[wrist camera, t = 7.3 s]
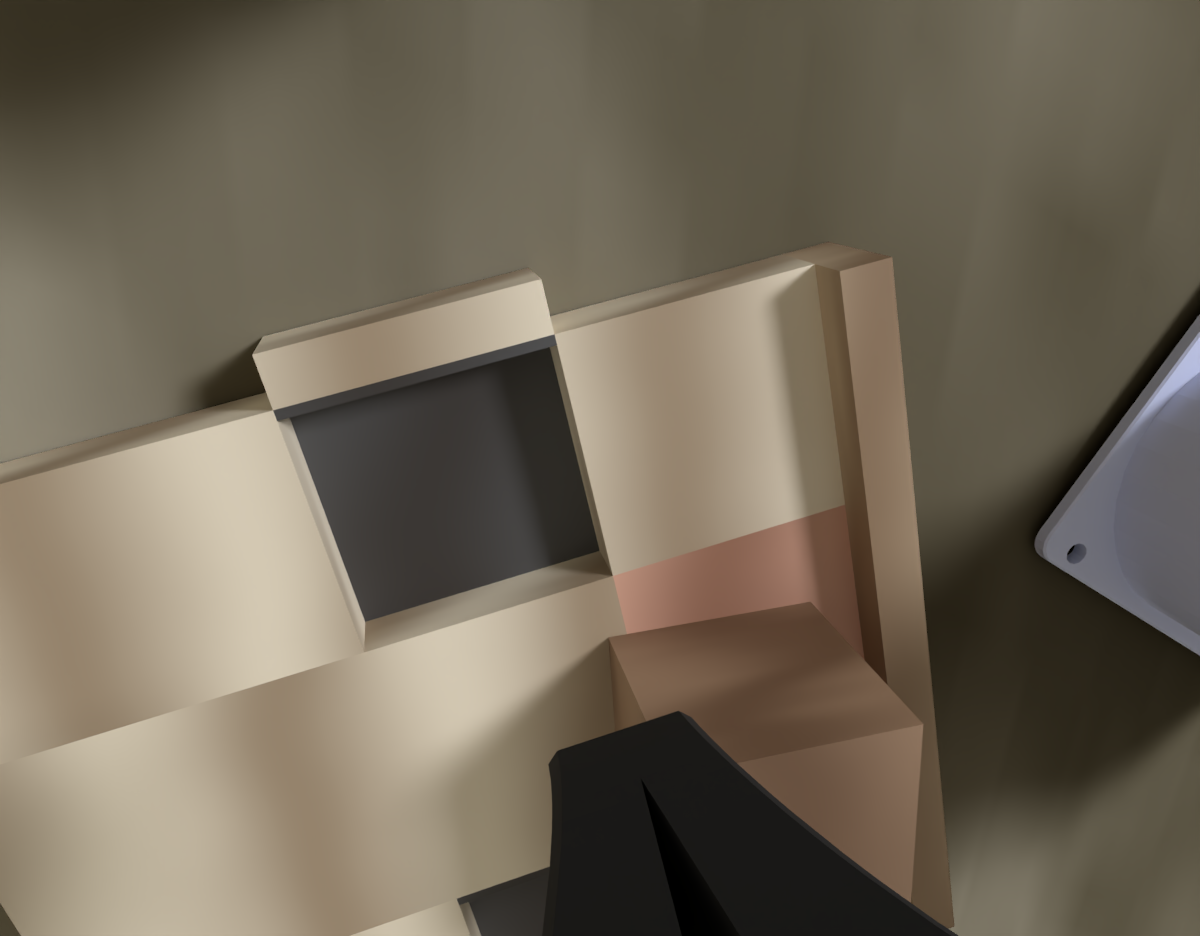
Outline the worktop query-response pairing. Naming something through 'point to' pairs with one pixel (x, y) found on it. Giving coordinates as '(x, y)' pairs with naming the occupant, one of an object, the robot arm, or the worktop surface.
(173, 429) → the trap board
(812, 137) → the worktop surface
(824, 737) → the walnut block
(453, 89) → the worktop surface
